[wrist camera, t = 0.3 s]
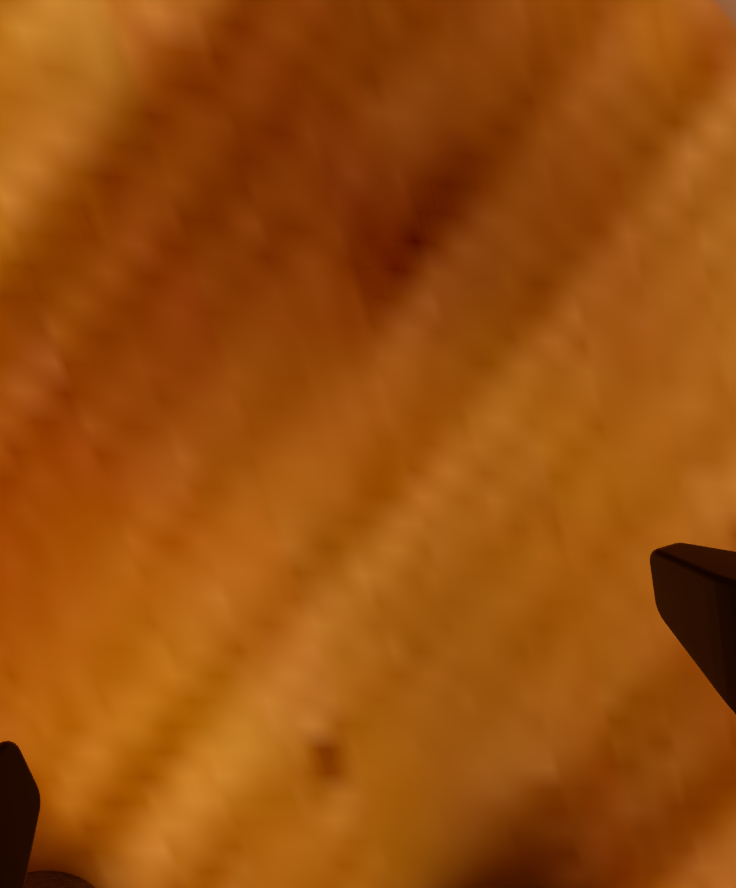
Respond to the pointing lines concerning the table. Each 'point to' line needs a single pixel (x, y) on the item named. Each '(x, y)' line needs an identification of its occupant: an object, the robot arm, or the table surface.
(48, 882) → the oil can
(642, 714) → the table surface
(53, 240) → the table surface
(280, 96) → the table surface
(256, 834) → the table surface
